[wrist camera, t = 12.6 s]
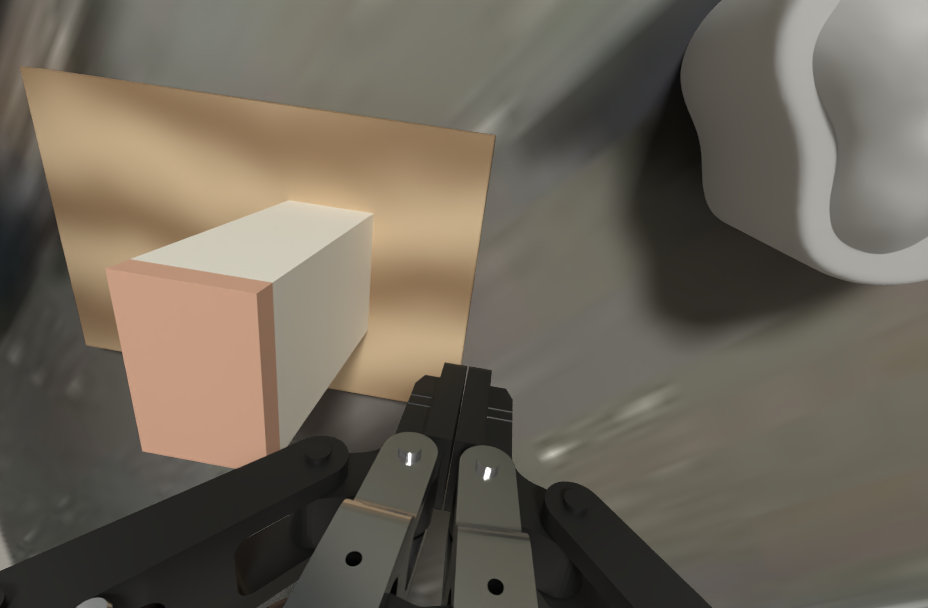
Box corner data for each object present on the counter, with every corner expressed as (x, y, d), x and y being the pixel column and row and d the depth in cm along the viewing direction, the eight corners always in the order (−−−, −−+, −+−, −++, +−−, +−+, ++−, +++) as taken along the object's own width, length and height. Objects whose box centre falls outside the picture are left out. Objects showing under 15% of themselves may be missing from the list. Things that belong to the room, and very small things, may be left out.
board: (46, 68, 21) (19, 66, 19) (496, 135, 20) (494, 136, 18) (104, 335, 26) (86, 345, 25) (456, 397, 25) (453, 410, 24)
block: (288, 200, 20) (104, 268, 11) (373, 213, 20) (256, 293, 11) (291, 317, 23) (142, 451, 14) (367, 329, 23) (267, 474, 14)
